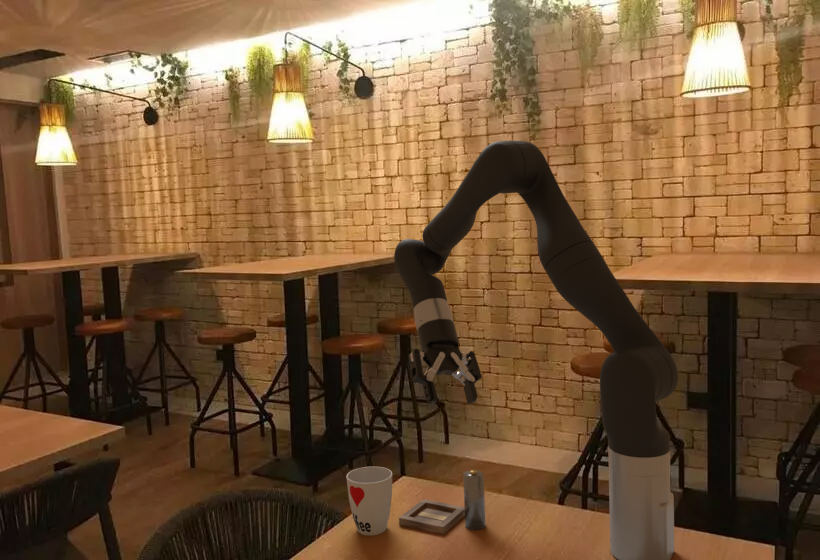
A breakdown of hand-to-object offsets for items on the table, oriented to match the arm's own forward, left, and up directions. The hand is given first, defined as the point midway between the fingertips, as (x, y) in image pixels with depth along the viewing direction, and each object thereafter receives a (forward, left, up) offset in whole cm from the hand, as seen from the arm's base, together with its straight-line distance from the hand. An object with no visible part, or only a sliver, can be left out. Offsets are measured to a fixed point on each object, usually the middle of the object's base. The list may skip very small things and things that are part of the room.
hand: (453, 402), depth 129 cm
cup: (+9, +15, -20) cm, 27 cm away
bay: (+1, +7, -20) cm, 21 cm away
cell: (-7, +6, -20) cm, 22 cm away
